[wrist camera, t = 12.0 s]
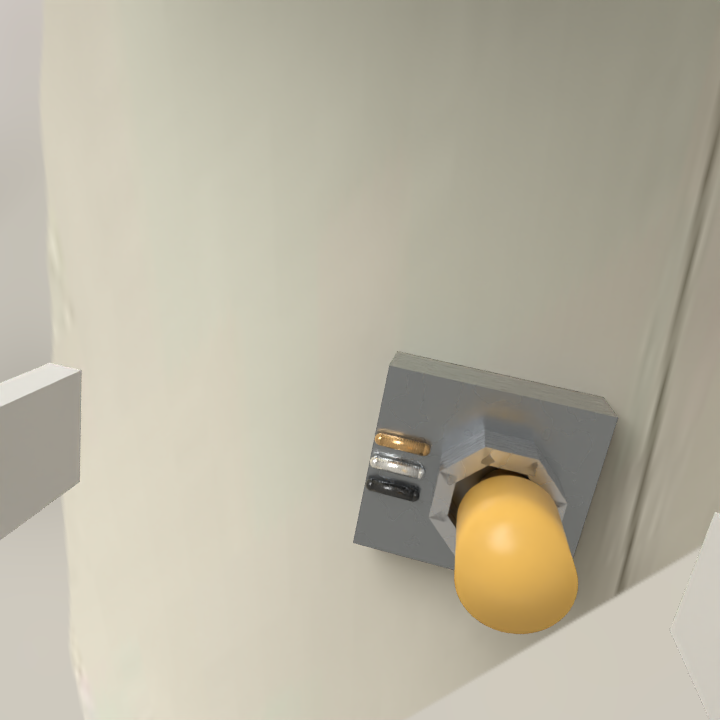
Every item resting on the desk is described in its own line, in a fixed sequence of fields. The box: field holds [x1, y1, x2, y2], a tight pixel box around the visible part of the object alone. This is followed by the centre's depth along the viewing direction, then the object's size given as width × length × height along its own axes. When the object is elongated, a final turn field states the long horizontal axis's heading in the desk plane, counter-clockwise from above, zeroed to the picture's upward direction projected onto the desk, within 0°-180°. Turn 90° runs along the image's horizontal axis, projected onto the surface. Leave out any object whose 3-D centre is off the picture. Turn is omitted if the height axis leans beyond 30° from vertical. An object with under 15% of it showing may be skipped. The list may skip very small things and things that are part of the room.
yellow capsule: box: [454, 469, 578, 634], centre depth 29 cm, size 5×5×8 cm
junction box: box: [353, 351, 618, 570], centre depth 33 cm, size 12×11×6 cm
